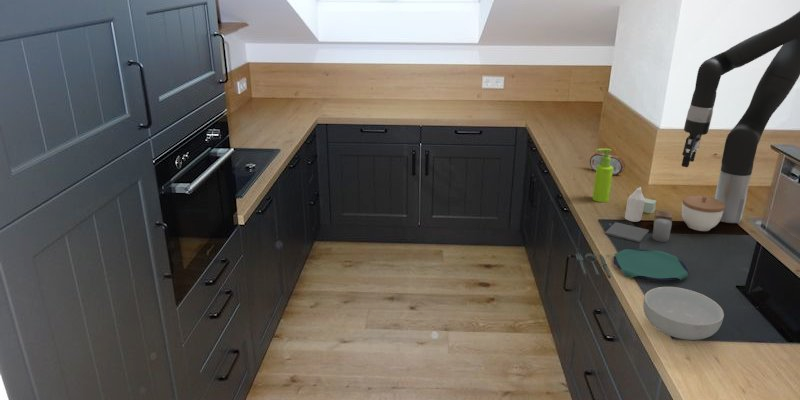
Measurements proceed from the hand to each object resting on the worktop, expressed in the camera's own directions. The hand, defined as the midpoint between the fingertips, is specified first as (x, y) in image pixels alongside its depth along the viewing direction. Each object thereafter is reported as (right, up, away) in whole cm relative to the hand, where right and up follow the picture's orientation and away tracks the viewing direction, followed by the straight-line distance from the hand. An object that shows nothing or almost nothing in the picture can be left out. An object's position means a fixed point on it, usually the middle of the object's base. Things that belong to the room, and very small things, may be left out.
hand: (687, 163), depth 201 cm
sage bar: (-13, -16, +8) cm, 22 cm away
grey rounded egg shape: (-17, -25, -16) cm, 35 cm away
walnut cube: (-13, -22, -8) cm, 27 cm away
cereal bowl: (-35, -44, -66) cm, 86 cm away
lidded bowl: (0, -22, -7) cm, 23 cm away
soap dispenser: (-25, -13, +17) cm, 33 cm away
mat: (-26, -24, -12) cm, 37 cm away
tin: (-11, -1, +49) cm, 50 cm away
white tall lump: (-20, -20, -1) cm, 28 cm away
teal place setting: (-34, -33, -35) cm, 59 cm away
